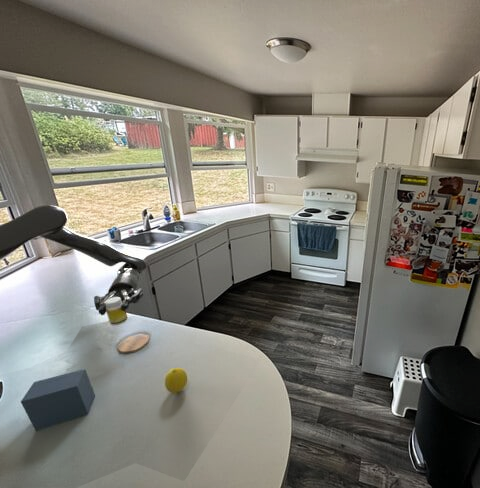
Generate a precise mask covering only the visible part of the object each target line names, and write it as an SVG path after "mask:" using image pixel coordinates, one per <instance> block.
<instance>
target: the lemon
mask: <svg viewBox="0 0 480 488" xmlns="http://www.w3.org/2000/svg"><path fill="white" fill-rule="evenodd" d="M187 383H188V375H187V371H185V369H183V368H182V367H174V368H172V369H170V370H168V372H167V373H166V375H165V377H164V387H165V389H166V390H167V391H168V392H169V393H172V394H176V393H179V392H181V391H183V389H184V388H185V387H186V385H187Z"/></svg>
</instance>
